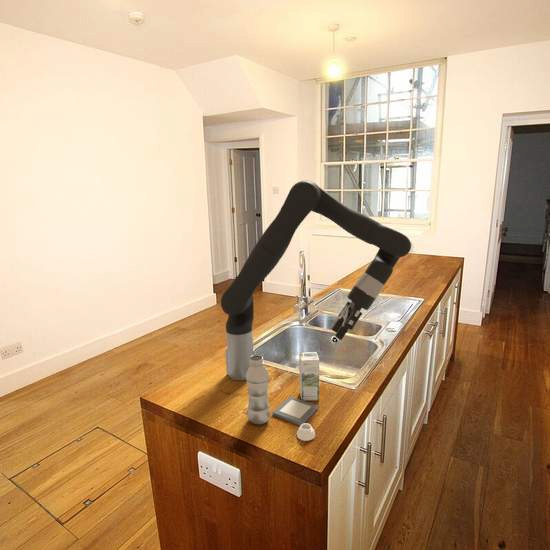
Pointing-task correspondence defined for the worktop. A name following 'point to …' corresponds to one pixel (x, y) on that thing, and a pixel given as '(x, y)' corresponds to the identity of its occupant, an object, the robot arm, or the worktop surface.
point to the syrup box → (309, 376)
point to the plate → (295, 410)
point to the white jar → (305, 432)
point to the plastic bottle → (257, 391)
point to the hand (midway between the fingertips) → (336, 334)
